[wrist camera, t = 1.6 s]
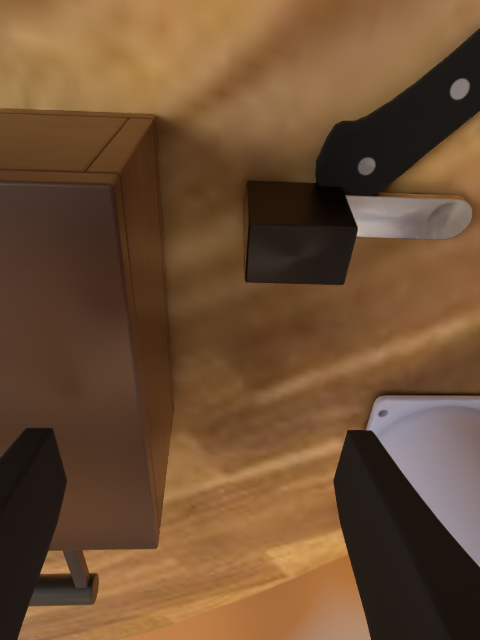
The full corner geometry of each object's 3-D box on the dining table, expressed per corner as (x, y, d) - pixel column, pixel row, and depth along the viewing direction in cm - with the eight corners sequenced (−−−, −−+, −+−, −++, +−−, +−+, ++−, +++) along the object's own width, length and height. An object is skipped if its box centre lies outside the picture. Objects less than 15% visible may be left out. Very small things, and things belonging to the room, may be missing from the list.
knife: (243, 235, 18) (244, 283, 16) (246, 179, 17) (248, 224, 14) (455, 241, 19) (488, 290, 16) (479, 188, 17) (519, 233, 15)
